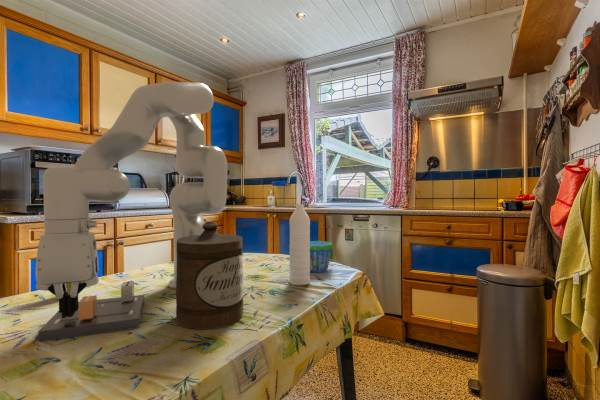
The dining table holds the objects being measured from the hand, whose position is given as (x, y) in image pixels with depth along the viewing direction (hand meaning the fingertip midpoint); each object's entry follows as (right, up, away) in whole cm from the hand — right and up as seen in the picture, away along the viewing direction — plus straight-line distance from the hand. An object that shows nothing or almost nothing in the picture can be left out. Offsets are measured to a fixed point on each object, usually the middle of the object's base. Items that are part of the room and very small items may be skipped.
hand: (68, 314), depth 67 cm
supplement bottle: (-16, -3, +21) cm, 27 cm away
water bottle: (+49, -3, +34) cm, 60 cm away
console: (+3, -3, +6) cm, 7 cm away
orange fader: (+3, -1, +1) cm, 3 cm away
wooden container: (+28, -3, +7) cm, 29 cm away
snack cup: (+54, -2, +50) cm, 74 cm away
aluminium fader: (+6, 0, +12) cm, 14 cm away
